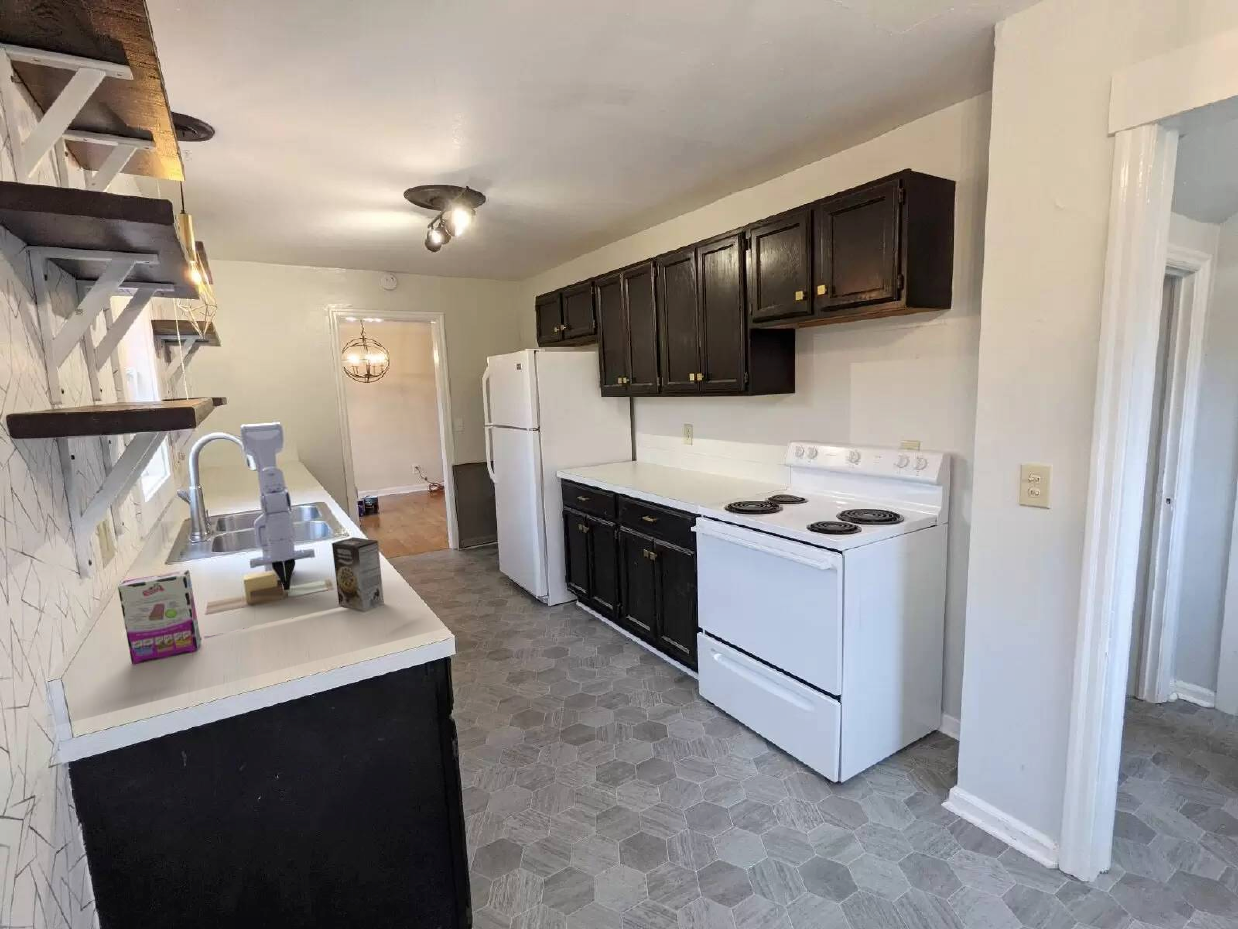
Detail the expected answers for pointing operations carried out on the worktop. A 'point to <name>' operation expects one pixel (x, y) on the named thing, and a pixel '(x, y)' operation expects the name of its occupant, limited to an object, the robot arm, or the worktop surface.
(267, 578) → the ochre block
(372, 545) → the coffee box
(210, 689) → the worktop surface
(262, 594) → the pocket board
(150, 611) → the candy bar box
